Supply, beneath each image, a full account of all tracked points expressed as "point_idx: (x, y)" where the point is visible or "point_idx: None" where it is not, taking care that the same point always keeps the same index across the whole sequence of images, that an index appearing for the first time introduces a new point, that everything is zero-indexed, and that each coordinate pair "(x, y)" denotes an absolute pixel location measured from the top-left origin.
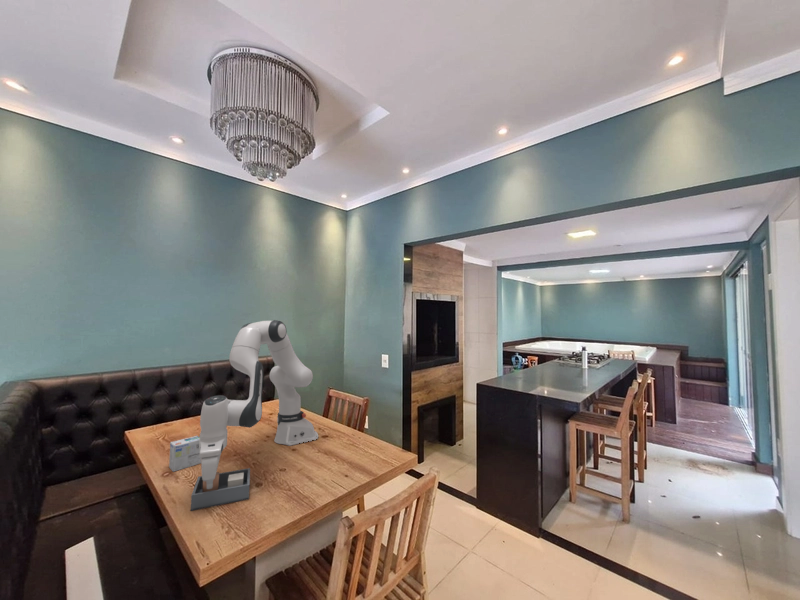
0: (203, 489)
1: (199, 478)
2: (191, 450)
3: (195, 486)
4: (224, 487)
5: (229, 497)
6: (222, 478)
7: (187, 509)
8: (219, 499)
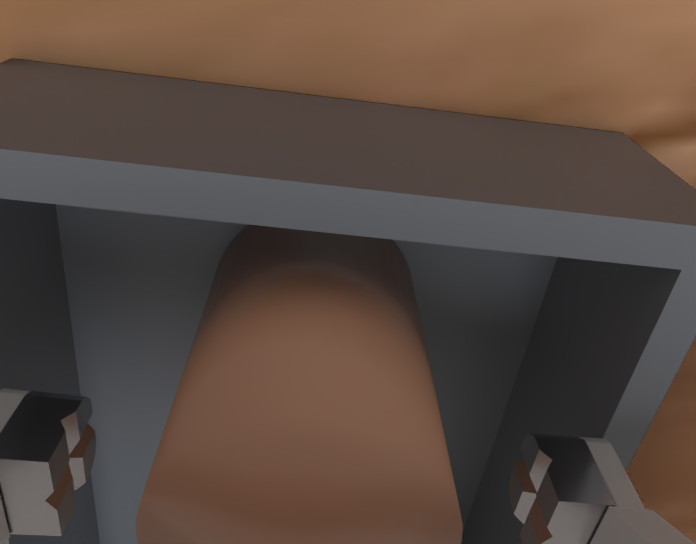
0: (241, 288)
1: (633, 256)
2: None
3: (271, 195)
4: None
5: None
6: None
7: (77, 12)
8: None
